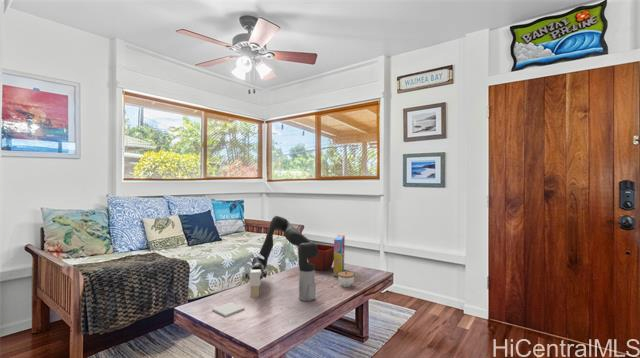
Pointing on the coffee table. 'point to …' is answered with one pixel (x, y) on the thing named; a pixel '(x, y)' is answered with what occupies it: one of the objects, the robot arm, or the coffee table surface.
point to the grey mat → (228, 309)
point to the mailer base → (254, 291)
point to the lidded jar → (346, 278)
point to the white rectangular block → (255, 277)
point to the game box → (339, 254)
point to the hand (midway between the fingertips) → (254, 277)
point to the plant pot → (323, 257)
